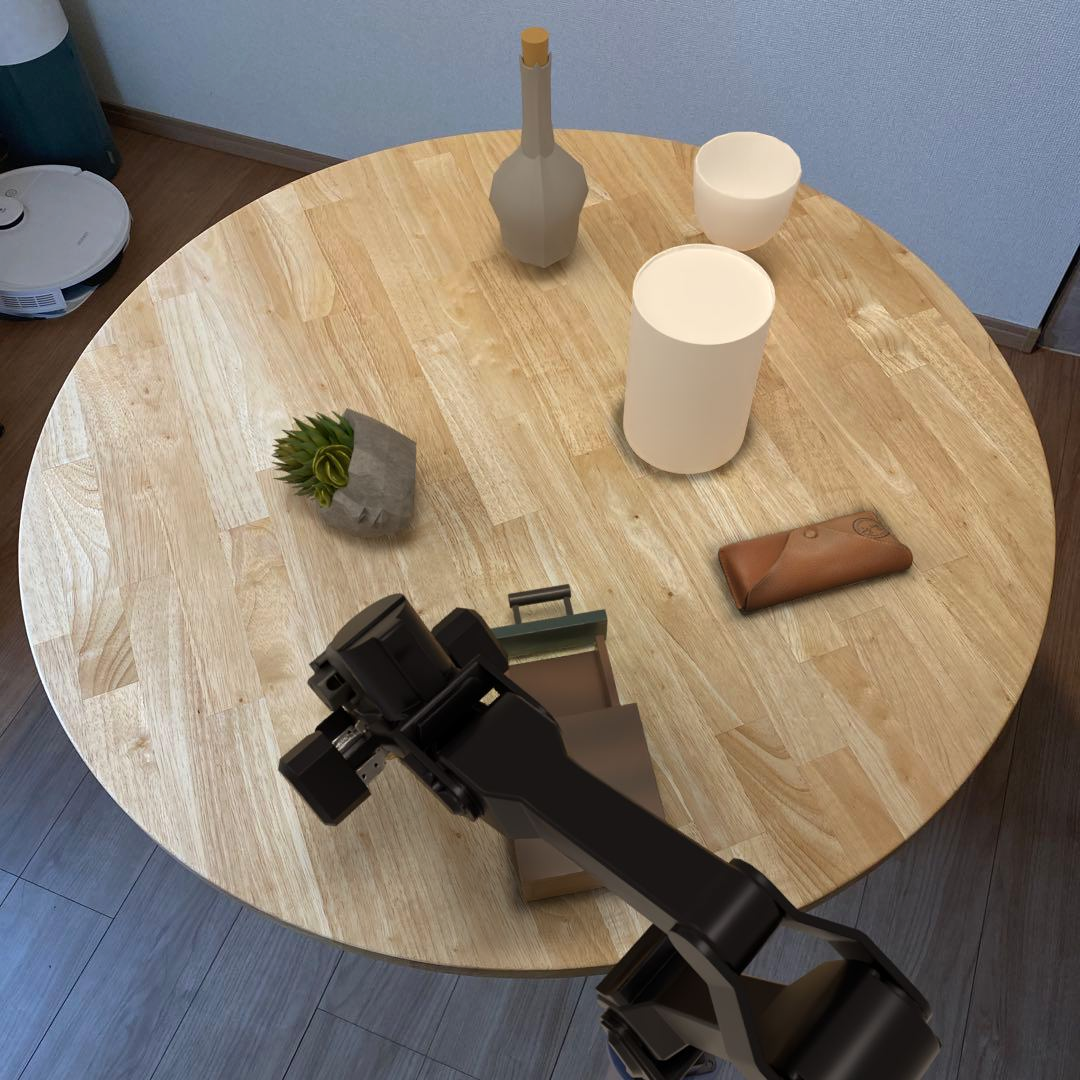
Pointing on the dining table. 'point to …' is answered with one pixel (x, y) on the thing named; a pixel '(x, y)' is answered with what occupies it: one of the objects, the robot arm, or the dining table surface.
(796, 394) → the dining table surface
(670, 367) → the canister
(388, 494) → the potted plant
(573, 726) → the cabinet
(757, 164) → the cup
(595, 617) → the drawer
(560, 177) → the bottle
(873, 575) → the sunglasses case
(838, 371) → the dining table surface
